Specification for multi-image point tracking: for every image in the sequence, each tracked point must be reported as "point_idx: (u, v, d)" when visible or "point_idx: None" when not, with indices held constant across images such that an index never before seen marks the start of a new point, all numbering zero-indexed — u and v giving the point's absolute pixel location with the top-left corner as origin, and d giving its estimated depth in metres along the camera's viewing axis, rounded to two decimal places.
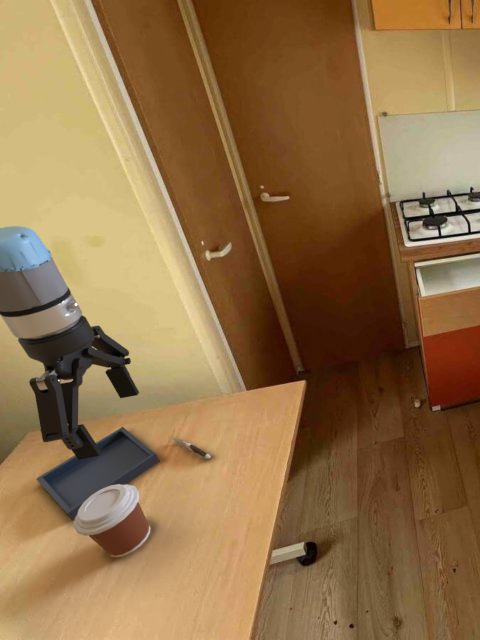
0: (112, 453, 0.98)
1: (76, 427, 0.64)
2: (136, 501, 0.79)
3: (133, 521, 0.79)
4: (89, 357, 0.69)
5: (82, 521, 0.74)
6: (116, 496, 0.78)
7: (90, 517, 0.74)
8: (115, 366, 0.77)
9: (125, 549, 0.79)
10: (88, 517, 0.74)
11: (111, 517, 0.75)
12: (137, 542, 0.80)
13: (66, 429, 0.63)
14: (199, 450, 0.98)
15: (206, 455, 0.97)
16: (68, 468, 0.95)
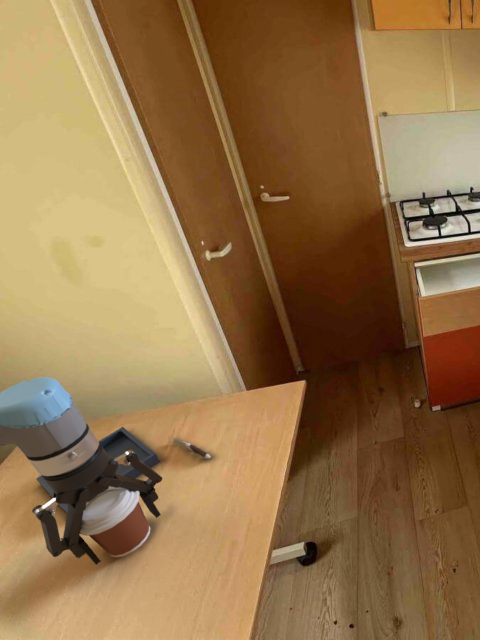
0: (112, 453, 0.98)
1: (73, 545, 0.73)
2: (136, 501, 0.79)
3: (133, 521, 0.79)
4: None
5: (82, 521, 0.74)
6: (116, 496, 0.78)
7: (90, 517, 0.74)
8: None
9: (125, 549, 0.79)
10: (88, 517, 0.74)
11: (111, 517, 0.75)
12: (137, 542, 0.80)
13: (58, 549, 0.71)
14: (199, 450, 0.98)
15: (206, 455, 0.97)
16: None
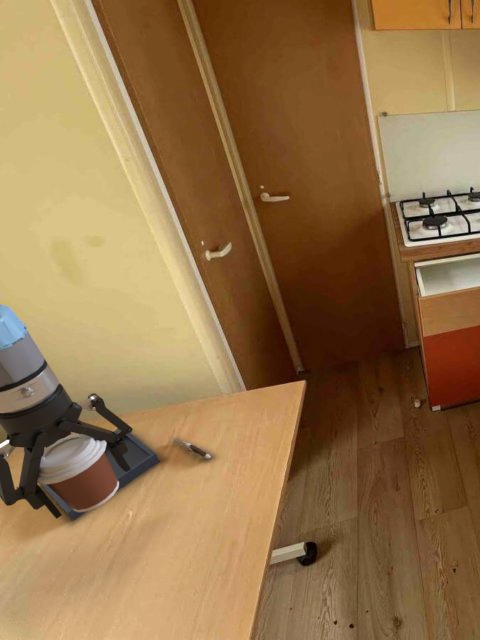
0: None
1: (30, 494, 0.67)
2: (102, 451, 0.72)
3: (99, 472, 0.72)
4: None
5: (40, 468, 0.67)
6: (80, 444, 0.71)
7: (49, 464, 0.68)
8: None
9: (89, 503, 0.73)
10: (47, 464, 0.68)
11: (73, 465, 0.69)
12: (103, 497, 0.74)
13: (12, 497, 0.65)
14: (199, 450, 0.98)
15: (206, 455, 0.97)
16: None
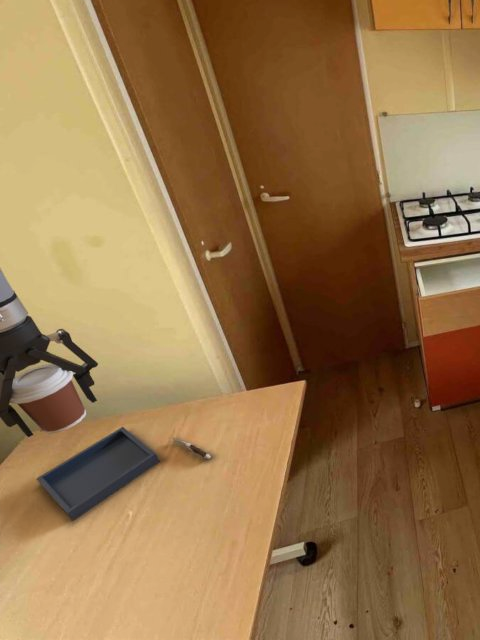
0: (112, 453, 0.98)
1: (3, 412, 0.76)
2: (69, 379, 0.82)
3: (66, 398, 0.82)
4: None
5: (12, 390, 0.77)
6: (49, 372, 0.81)
7: (20, 387, 0.77)
8: None
9: (58, 426, 0.82)
10: (18, 387, 0.77)
11: (41, 388, 0.78)
12: (70, 421, 0.83)
13: None
14: (199, 450, 0.98)
15: (206, 455, 0.97)
16: (68, 468, 0.95)
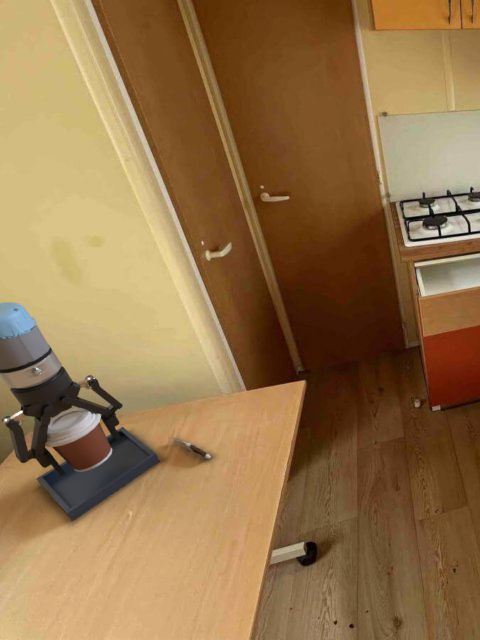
0: (112, 453, 0.98)
1: (39, 455, 0.83)
2: (97, 421, 0.89)
3: (95, 439, 0.89)
4: None
5: (47, 434, 0.84)
6: (79, 416, 0.88)
7: (54, 431, 0.84)
8: None
9: (87, 465, 0.89)
10: (53, 431, 0.84)
11: (73, 432, 0.85)
12: (98, 459, 0.91)
13: (26, 456, 0.82)
14: (199, 450, 0.98)
15: (206, 455, 0.97)
16: (68, 468, 0.95)
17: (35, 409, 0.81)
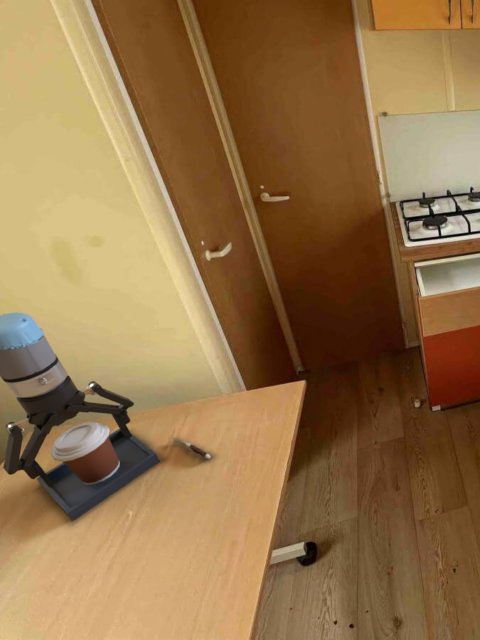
0: None
1: (28, 466, 0.82)
2: (106, 436, 0.91)
3: (104, 453, 0.91)
4: None
5: (58, 449, 0.86)
6: (88, 431, 0.90)
7: (65, 446, 0.86)
8: None
9: (96, 478, 0.91)
10: (63, 446, 0.86)
11: (83, 447, 0.87)
12: (107, 473, 0.93)
13: (14, 467, 0.81)
14: (199, 450, 0.98)
15: (206, 455, 0.97)
16: (68, 468, 0.95)
17: (41, 418, 0.82)
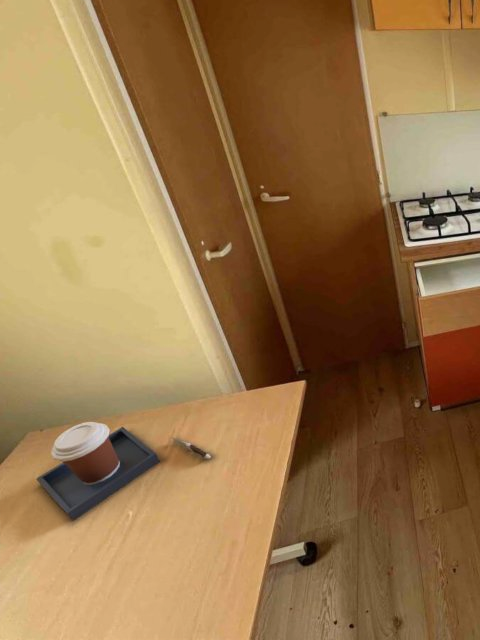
0: None
1: None
2: (106, 436, 0.91)
3: (104, 453, 0.91)
4: None
5: (58, 449, 0.86)
6: (88, 431, 0.90)
7: (65, 446, 0.86)
8: None
9: (96, 478, 0.91)
10: (63, 446, 0.86)
11: (83, 447, 0.87)
12: (107, 473, 0.93)
13: None
14: (199, 450, 0.98)
15: (206, 455, 0.97)
16: (68, 468, 0.95)
17: None
